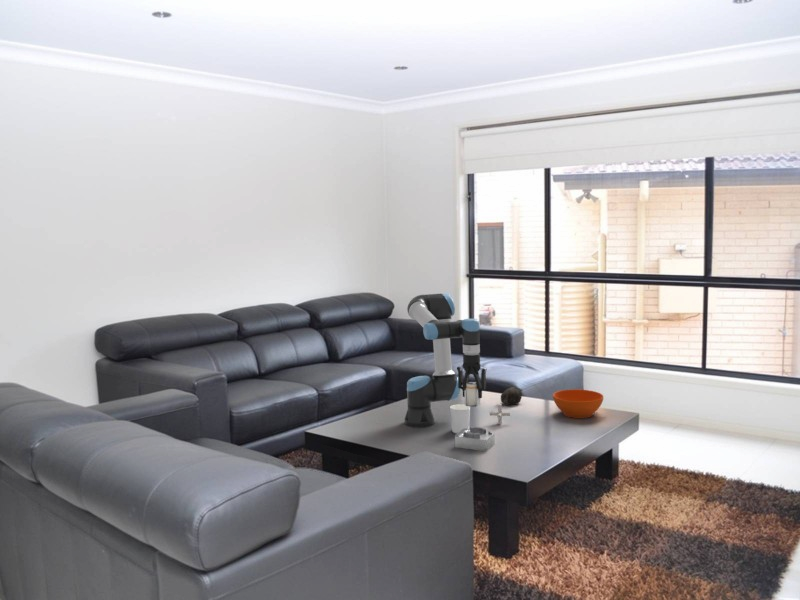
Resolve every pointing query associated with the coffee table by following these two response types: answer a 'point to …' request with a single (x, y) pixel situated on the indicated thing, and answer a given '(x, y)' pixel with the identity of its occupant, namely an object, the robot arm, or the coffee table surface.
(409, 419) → the robot arm
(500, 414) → the pipe connector
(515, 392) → the rock
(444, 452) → the coffee table surface
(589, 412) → the bowl
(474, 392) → the cream flashlight
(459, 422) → the candle holder
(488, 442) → the cradle fixture plate
